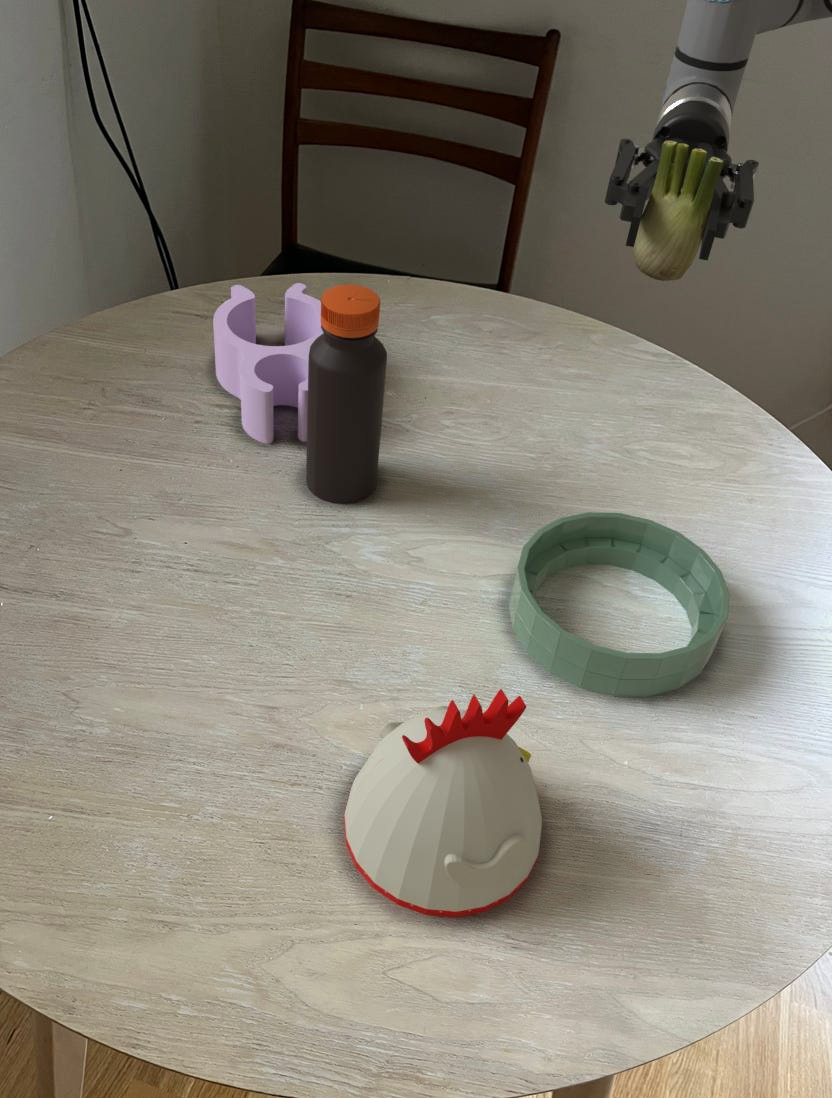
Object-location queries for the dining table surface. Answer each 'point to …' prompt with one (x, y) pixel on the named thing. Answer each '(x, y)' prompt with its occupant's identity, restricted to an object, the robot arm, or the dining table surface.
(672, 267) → the fennel bulb
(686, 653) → the green faceted ring
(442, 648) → the dining table surface
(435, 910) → the kitchen timer
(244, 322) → the clip
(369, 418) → the bottle
